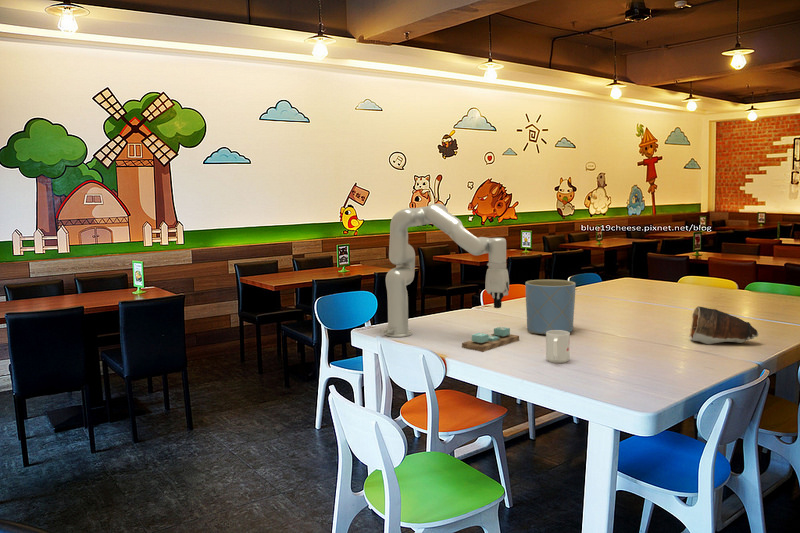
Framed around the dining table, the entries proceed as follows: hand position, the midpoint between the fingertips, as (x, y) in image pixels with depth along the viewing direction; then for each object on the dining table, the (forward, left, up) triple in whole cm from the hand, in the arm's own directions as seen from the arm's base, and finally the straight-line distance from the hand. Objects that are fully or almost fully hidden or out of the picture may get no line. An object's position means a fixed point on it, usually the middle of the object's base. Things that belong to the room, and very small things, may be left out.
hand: (497, 307), depth 264 cm
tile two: (-5, 0, -15) cm, 16 cm away
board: (-5, 0, -15) cm, 16 cm away
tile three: (+3, 0, -13) cm, 13 cm away
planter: (+32, -7, -16) cm, 37 cm away
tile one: (-13, 0, -13) cm, 18 cm away
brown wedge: (+60, -74, -16) cm, 97 cm away
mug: (-12, -36, -16) cm, 41 cm away
